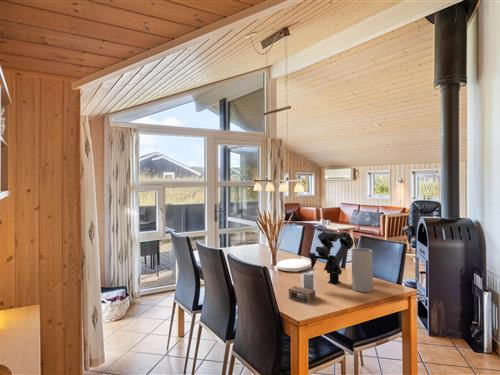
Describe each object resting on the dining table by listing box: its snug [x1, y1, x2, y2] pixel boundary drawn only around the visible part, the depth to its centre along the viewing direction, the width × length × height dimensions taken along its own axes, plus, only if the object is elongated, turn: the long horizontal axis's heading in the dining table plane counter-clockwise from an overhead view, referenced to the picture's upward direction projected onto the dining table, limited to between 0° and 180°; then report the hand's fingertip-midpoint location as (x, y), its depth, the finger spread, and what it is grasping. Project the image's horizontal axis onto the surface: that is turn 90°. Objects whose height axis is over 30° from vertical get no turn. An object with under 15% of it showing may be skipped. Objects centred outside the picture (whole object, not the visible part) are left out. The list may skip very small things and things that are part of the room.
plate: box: [276, 258, 311, 273], centre depth 270 cm, size 28×6×27 cm
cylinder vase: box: [350, 247, 374, 293], centre depth 213 cm, size 12×12×25 cm
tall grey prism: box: [296, 272, 315, 300], centre depth 201 cm, size 11×6×13 cm, turn 139°
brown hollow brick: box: [288, 285, 317, 304], centre depth 198 cm, size 7×14×6 cm, turn 49°
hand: (318, 269), depth 212 cm, fingers open, 9 cm apart
